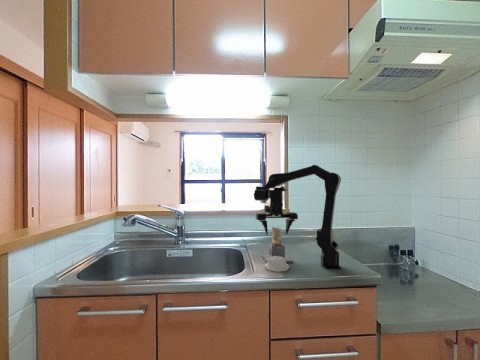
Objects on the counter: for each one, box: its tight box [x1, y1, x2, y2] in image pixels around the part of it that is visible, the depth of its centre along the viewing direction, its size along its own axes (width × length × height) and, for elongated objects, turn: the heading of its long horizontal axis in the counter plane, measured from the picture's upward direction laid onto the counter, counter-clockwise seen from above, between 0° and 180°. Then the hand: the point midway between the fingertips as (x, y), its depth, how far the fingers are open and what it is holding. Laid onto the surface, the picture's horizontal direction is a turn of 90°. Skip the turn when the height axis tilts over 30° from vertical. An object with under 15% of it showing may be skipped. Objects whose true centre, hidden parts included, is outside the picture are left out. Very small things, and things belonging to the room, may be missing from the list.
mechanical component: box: [264, 256, 290, 273], centre depth 114 cm, size 10×4×10 cm
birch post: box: [271, 226, 283, 246], centre depth 127 cm, size 4×4×10 cm
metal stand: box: [261, 242, 294, 264], centre depth 126 cm, size 12×12×7 cm
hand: (276, 234), depth 127 cm, fingers open, 9 cm apart
